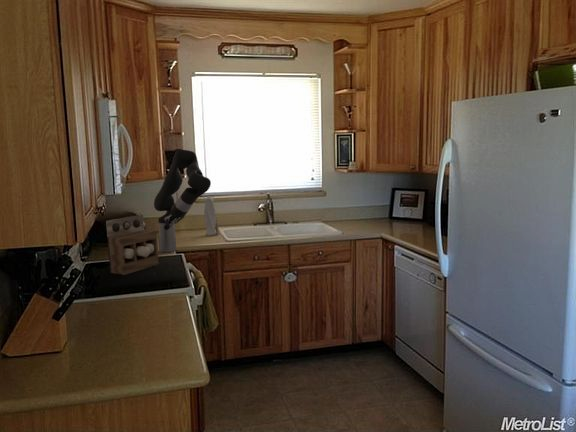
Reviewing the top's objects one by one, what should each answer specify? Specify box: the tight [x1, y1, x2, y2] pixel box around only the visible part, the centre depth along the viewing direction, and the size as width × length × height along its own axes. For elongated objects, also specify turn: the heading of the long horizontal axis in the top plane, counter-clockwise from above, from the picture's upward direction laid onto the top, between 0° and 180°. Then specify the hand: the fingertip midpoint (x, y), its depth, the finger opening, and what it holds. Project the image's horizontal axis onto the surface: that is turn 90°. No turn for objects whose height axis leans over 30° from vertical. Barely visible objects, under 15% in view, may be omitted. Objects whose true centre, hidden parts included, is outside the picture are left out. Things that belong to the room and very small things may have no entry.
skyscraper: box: [202, 194, 220, 237], centre depth 343 cm, size 8×8×28 cm
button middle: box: [136, 246, 150, 257], centre depth 249 cm, size 7×5×5 cm
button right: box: [146, 243, 154, 253], centre depth 257 cm, size 7×5×5 cm
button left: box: [124, 248, 134, 259], centre depth 246 cm, size 7×5×5 cm
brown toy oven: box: [105, 214, 160, 276], centre depth 252 cm, size 10×23×26 cm, turn 148°
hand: (165, 228), depth 251 cm, fingers closed
